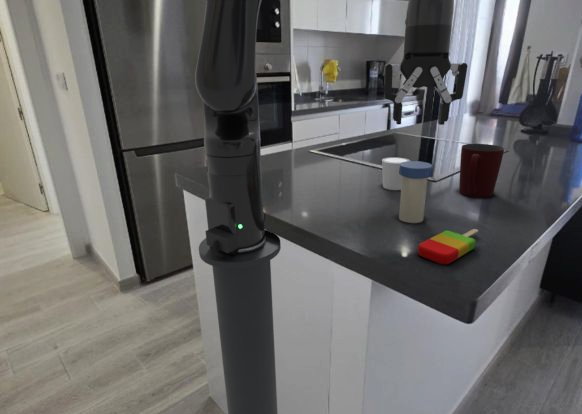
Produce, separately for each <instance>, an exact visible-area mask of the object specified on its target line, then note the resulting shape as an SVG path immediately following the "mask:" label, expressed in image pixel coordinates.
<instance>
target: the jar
mask: <svg viewBox="0 0 582 414" xmlns="http://www.w3.org/2000/svg"><path fill="white" fill-rule="evenodd" d="M428 180H429V177H428V178H408V177H404V176H402V183H401V190H400V198H399V211H398V219H399V220H400V221H402V222H403V223H407V224H420V223H423V221H424V219H425V210H426V209H425V208H426V199H427V191H428Z"/></svg>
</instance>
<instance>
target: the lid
mask: <svg viewBox="0 0 582 414" xmlns="http://www.w3.org/2000/svg"><path fill="white" fill-rule="evenodd" d="M399 174H400V175H401V176H404V177H408V178H428V179H429V178H430V177H432V176H433V164H432V163H430V162H426V161H418V160H410V161H406V162H402V163H400V168H399Z"/></svg>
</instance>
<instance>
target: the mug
mask: <svg viewBox="0 0 582 414" xmlns="http://www.w3.org/2000/svg"><path fill="white" fill-rule="evenodd" d="M504 151H505V148H504V147H503V146H500V145H495V144H488V143H465V144H462V145H461V151H460V163H459V182H458V183H459V185H458V186H459V187H458V192H459V193H460V195H461V194H462V195H464V196H467V197H471V198H481V199H482V198H490V197H493V194H494V192H495V188H496V184H497V180H498V176H499V173H500V169H501V165H502V162H503V157H504Z"/></svg>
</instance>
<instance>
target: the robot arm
mask: <svg viewBox="0 0 582 414" xmlns="http://www.w3.org/2000/svg"><path fill="white" fill-rule="evenodd" d="M261 4H262V0H205V12H204V20H203V26H202V33H201V39H200V45H199V51H198V55H197V61H196V64H195V65H196V66H195V70H194V71H195V72H194V83H195V89H196V91H197V93H198V95H199V98H200V99H201V100H202V105H203V116H204V130H203V131H204V133H203V146H204V154H205V155H204V156H205V165H206V175H207V184H208V185H207V186H208V195H209V196H208V197H206V198H205V200H204V204H205V212H206V223H207V230H205V238H206V240H207V245H209V246H210V248H211V249H212V253H213V254H214V255H215V256H217V257H220V258H222V257H223V256H224V254H226V255H229V256H231V257H235V256H237V255H241V254H248V253H252V252H255V251H257V250H259V249H261V248H262V247H263V246H264V245H265V243H266V237H265V230H266V229H265V222H266V213H264V212H265V211H264V193H263V192H264V191H263V176H262V175H263V173H262V152H261V127H260V125H261V124H260V110H259V107H260V106H259V87H258V76H257V70H256V69H257V67H256V63H257V61H256V60H257V59H256V57H257V56H256V55H257V52H256V51H257V30H258V29H257V28H258V19H259V13H260V8H261ZM454 11H455V0H408V2H407V8H406V15H405V21H404V25H405V28H404V41H403V56H402V60H401V62H400V64H391V63H387V64H385V65H384V68H383V69H384V70H383V71H384V72H383V73H384V74H383V75H384V76H383V80H384V81H383V97H384V98H385V99H386V100H388V101H390V102H392V104H393V106H392V109H393V110H392V119H393V121H394V122H395V124H396V125H402V116H403V103H402V102H403V100H404V98H405V97H406V95H407V94H408V93H409V92H410V90H411V89H412V88H415V89H419V88H423V87H425V88H428V89H429V88H430V89H432V88H434V89H435V91H436V92H437V93H438V95H439V97H440V99H441V102H439V107H438V117H437V124H438V125H440V126H442V125H443V126H444V125H445V123H446V122H448V121H449V118H450V117H449V116H450V108H451V104H452V103H453V102H455V101H457V100H461V99H462V98H463V97H464V91H465V84H466V78H467V73H468V64H467V63H466V62H460V63H451V61H450V47H451V39H452V30H453V29H452V28H453V22H454V21H453V20H454ZM398 71H400V72H401V75H402V76H403V77H404V79H405V80H404V81H403V82H402V84H401V85H400V87H399V89H398V91H397V92H396V93H393V78H396V76H397V73H398ZM449 71H451V74H452V76H453V77H454V80H453V81H454V82H453V86H452V87H453V88H452V92H451V93H450V91H449V90H448V87H447V85H446V83H445V81H444V77H445V76H446V75H447V73H448V72H449Z"/></svg>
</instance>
